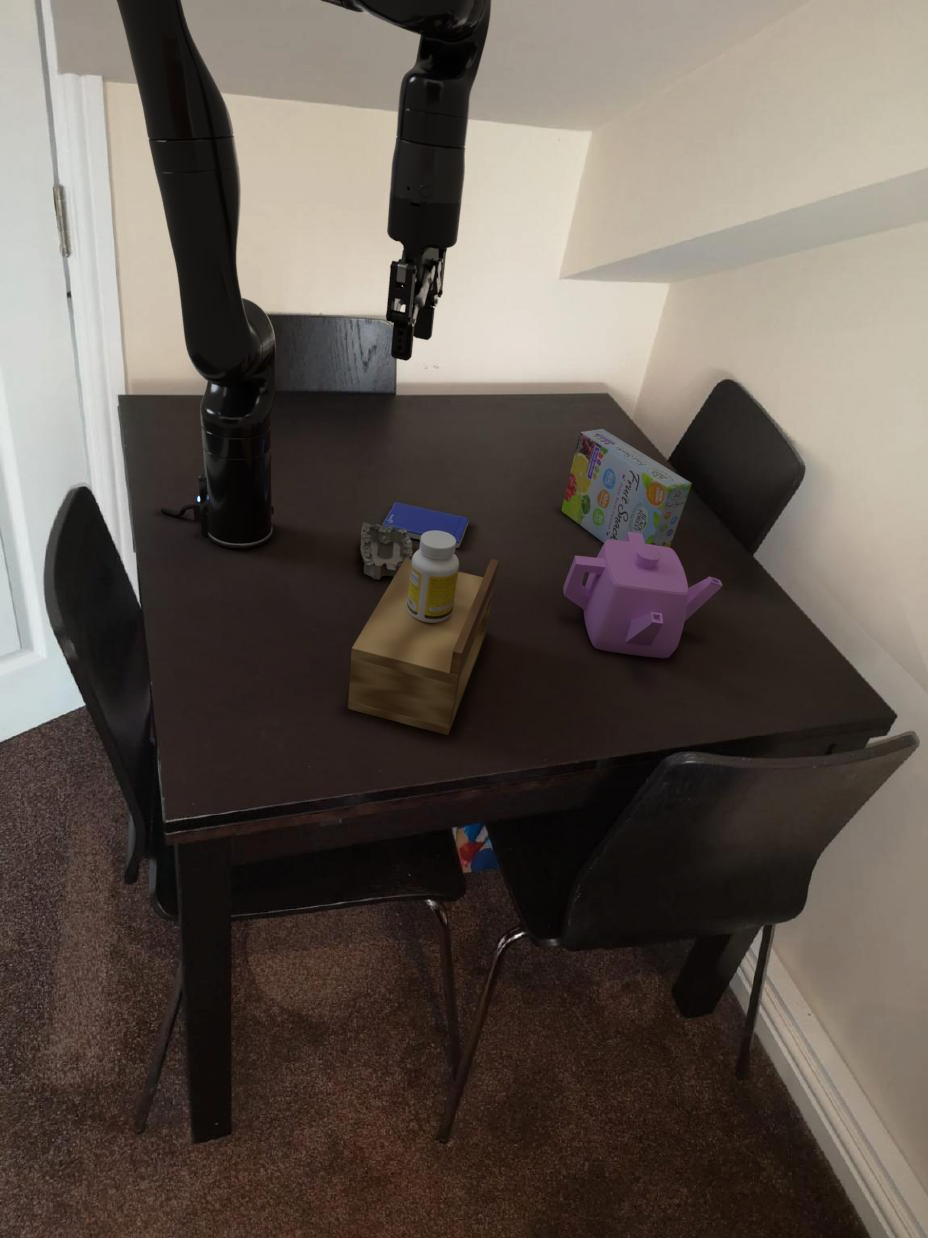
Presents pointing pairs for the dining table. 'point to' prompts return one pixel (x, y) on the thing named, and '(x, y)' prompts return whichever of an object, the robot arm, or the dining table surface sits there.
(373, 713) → the lipped wooden block
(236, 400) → the robot arm
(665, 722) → the dining table surface
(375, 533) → the egg carton
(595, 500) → the snack box
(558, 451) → the dining table surface
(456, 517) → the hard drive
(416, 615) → the supplement bottle
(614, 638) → the teakettle
